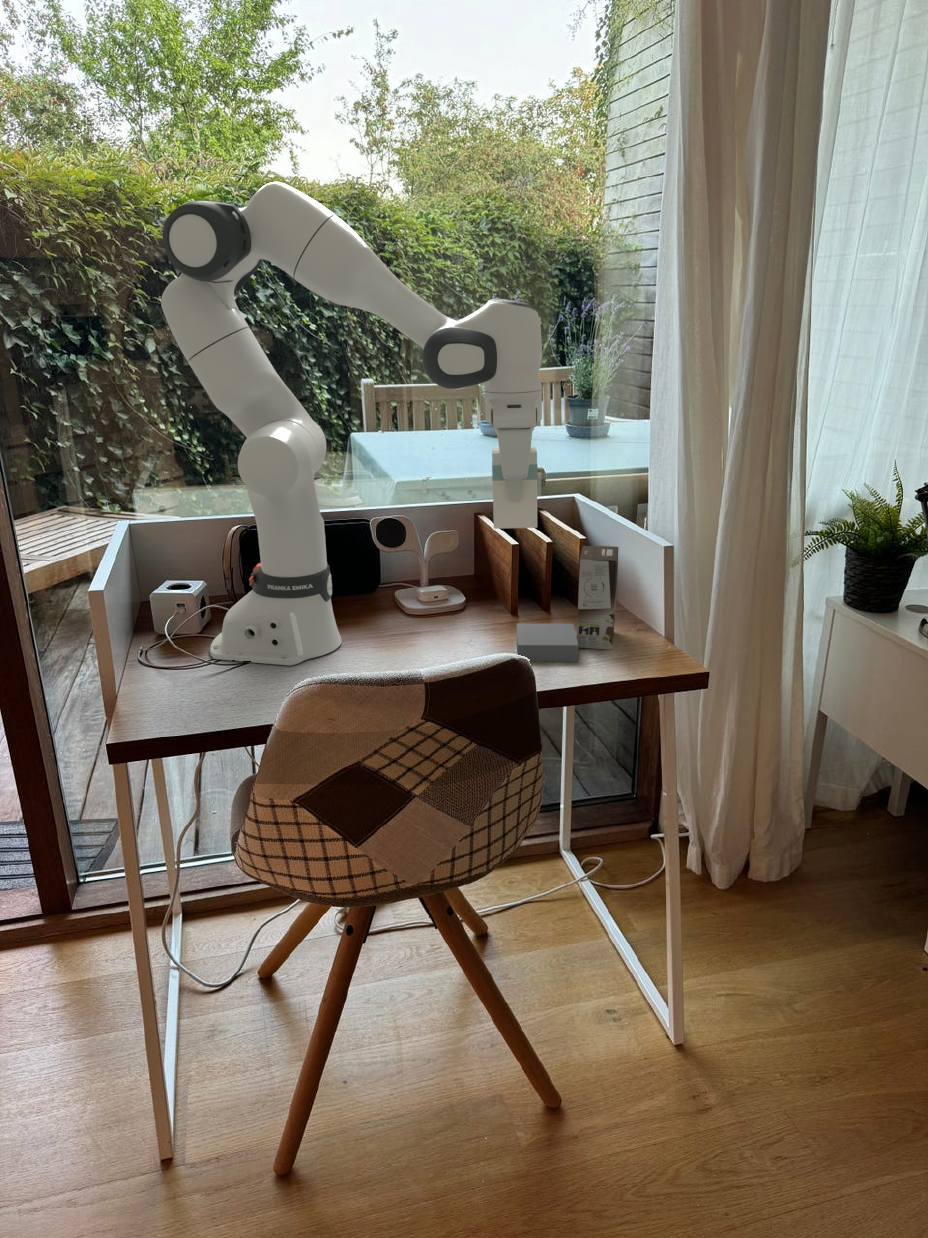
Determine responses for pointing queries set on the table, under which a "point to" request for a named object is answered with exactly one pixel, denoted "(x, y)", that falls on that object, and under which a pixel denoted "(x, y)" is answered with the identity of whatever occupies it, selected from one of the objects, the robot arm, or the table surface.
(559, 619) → the table surface
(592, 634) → the coffee box
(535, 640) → the podium
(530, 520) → the carton
